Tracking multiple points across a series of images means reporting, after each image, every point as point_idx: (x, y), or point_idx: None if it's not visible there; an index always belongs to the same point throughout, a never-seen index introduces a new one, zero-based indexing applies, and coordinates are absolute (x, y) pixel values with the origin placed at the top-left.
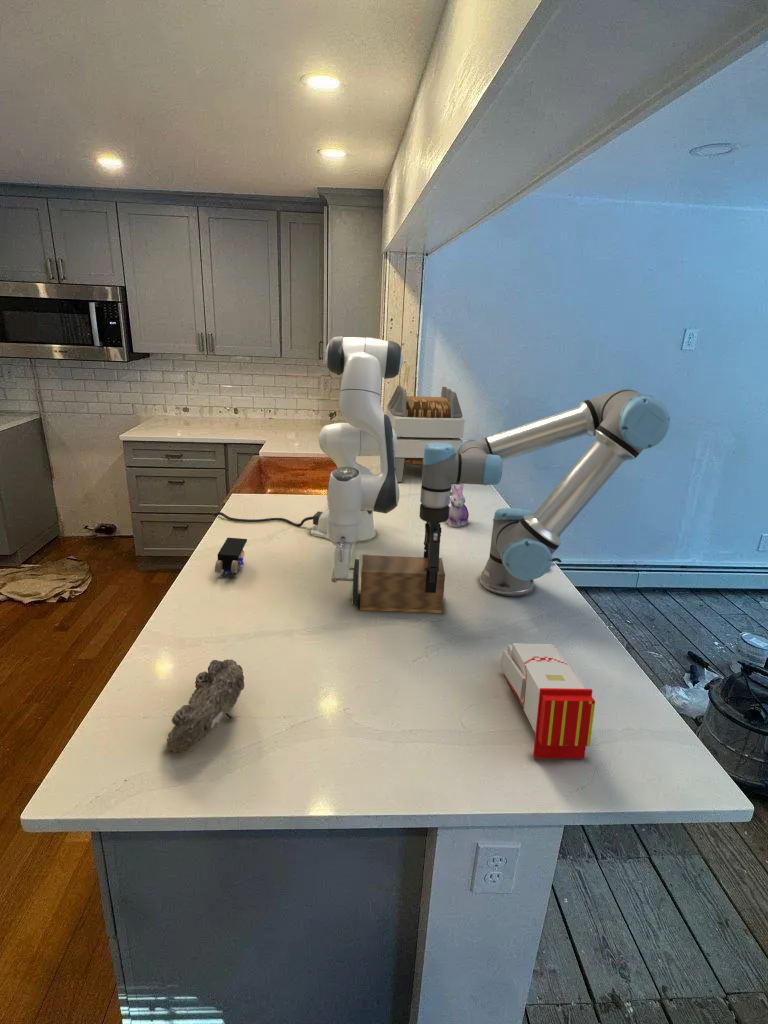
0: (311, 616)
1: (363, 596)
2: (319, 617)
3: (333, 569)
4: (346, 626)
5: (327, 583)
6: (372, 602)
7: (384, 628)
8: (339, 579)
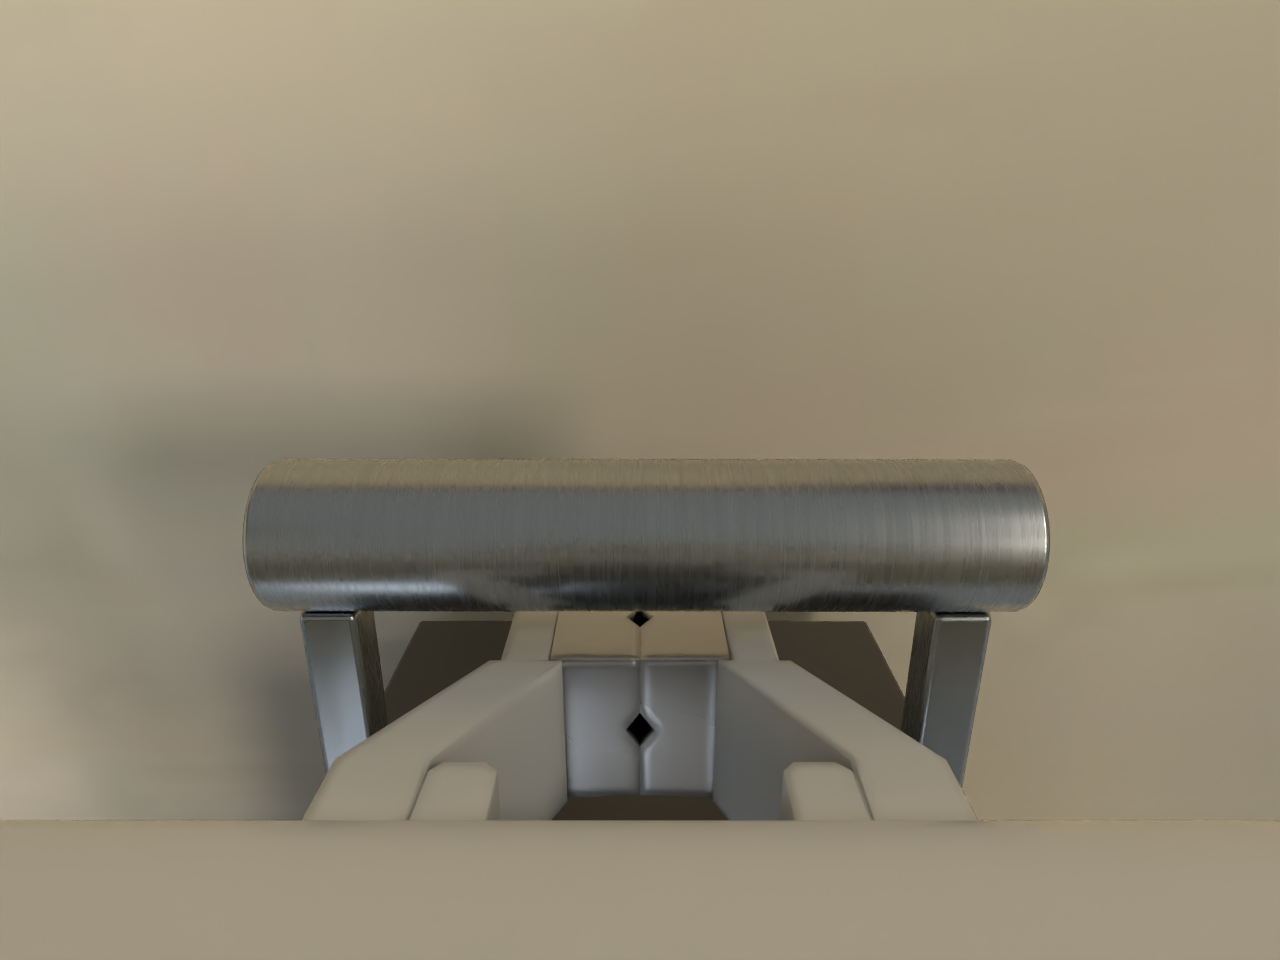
0: (99, 71)
1: None
2: (107, 199)
3: (813, 488)
4: (7, 554)
5: (1148, 211)
6: None
7: None
8: (306, 654)
